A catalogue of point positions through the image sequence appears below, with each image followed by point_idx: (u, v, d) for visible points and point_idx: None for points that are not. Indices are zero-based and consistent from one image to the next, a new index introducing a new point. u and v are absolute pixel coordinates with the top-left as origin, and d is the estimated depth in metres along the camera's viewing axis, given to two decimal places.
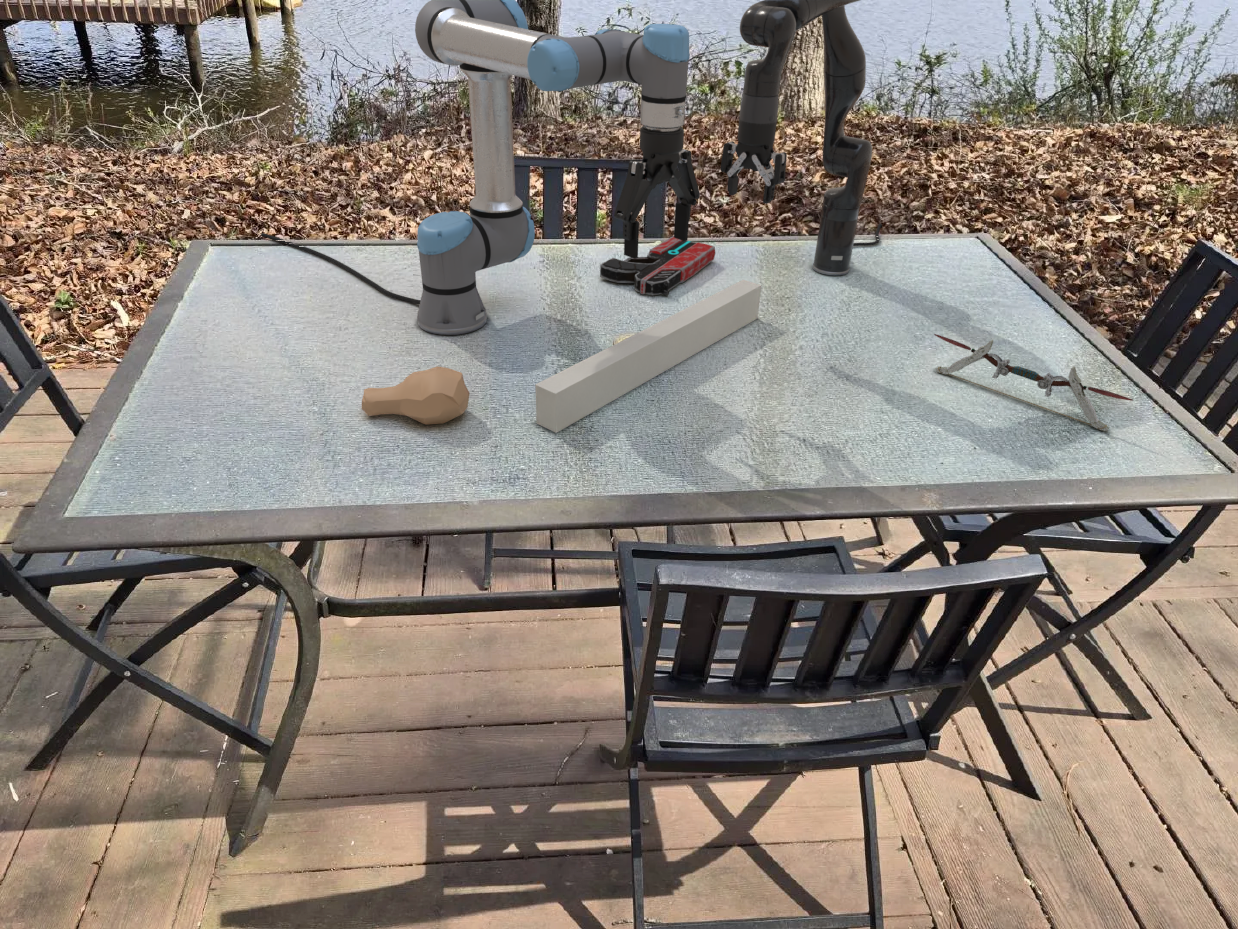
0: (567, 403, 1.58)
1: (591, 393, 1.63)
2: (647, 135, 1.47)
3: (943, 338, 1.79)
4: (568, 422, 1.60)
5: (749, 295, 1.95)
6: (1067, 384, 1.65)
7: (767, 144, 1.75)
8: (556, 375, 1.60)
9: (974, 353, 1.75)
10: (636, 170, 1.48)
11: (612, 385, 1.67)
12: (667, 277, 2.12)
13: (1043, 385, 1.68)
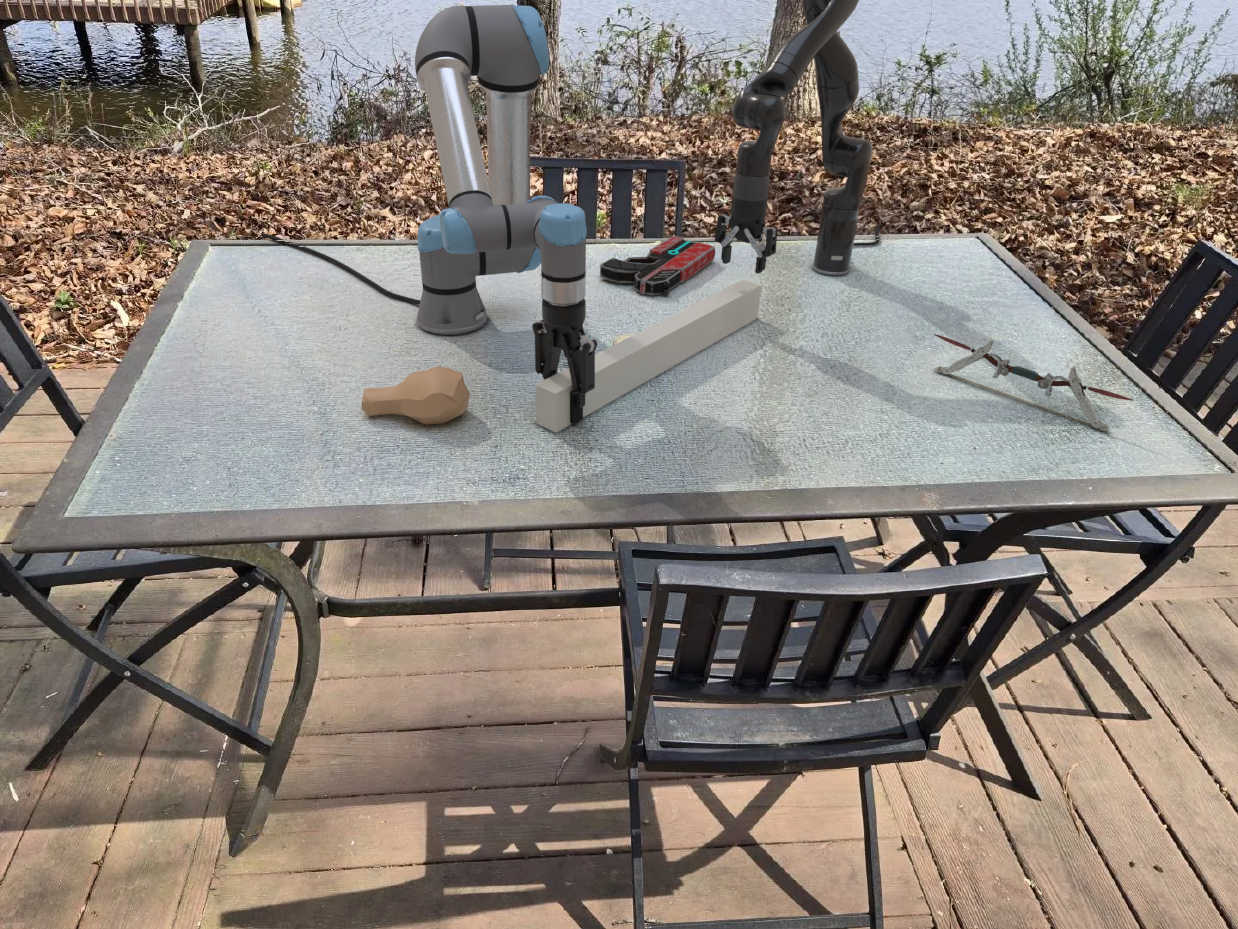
0: (567, 403, 1.58)
1: (591, 393, 1.63)
2: (580, 309, 1.49)
3: (943, 338, 1.79)
4: (568, 422, 1.60)
5: (749, 295, 1.95)
6: (1067, 384, 1.65)
7: (759, 219, 1.84)
8: (556, 375, 1.60)
9: (974, 353, 1.75)
10: (594, 348, 1.51)
11: (612, 385, 1.67)
12: (667, 277, 2.12)
13: (1043, 385, 1.68)
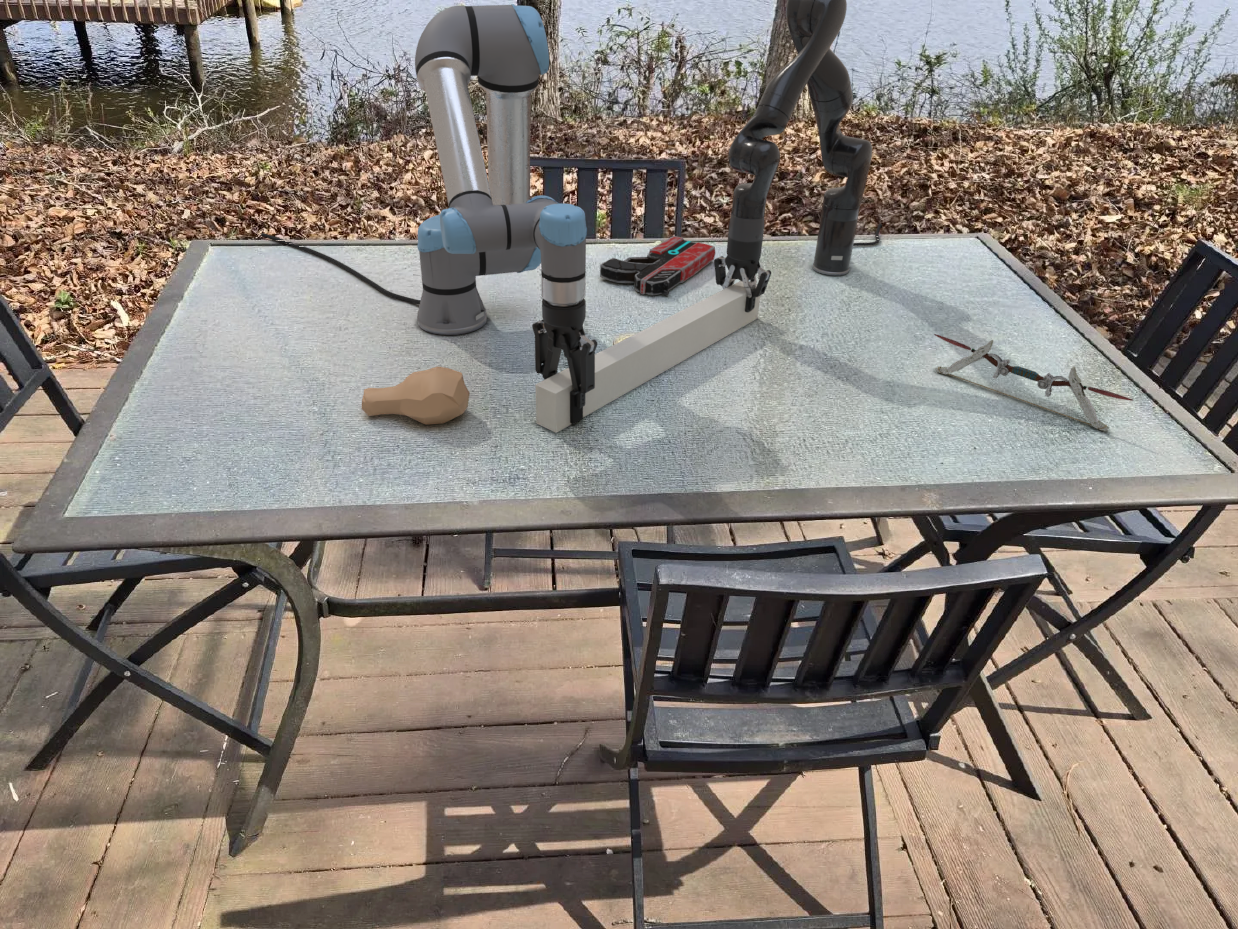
0: (567, 403, 1.58)
1: (591, 393, 1.63)
2: (580, 309, 1.49)
3: (943, 338, 1.79)
4: (568, 422, 1.60)
5: None
6: (1067, 384, 1.65)
7: (754, 259, 1.89)
8: (556, 375, 1.60)
9: (974, 353, 1.75)
10: (594, 348, 1.51)
11: (612, 385, 1.67)
12: (667, 277, 2.12)
13: (1043, 385, 1.68)
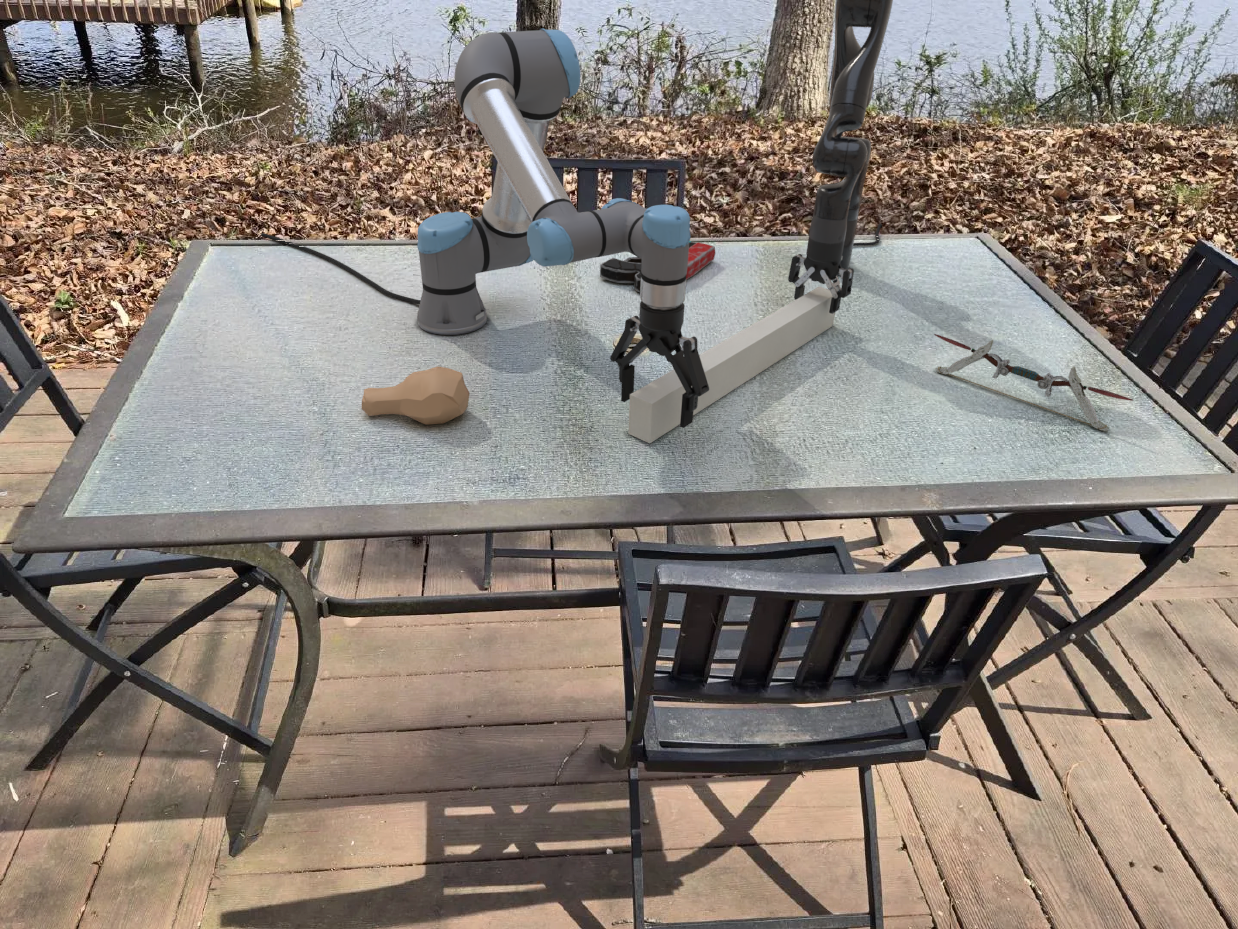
0: (661, 413, 1.56)
1: None
2: (680, 312, 1.45)
3: (943, 338, 1.79)
4: (661, 432, 1.58)
5: (827, 303, 1.93)
6: (1067, 384, 1.65)
7: (835, 261, 1.86)
8: (649, 385, 1.57)
9: (974, 353, 1.75)
10: (695, 345, 1.47)
11: None
12: None
13: (1043, 385, 1.68)
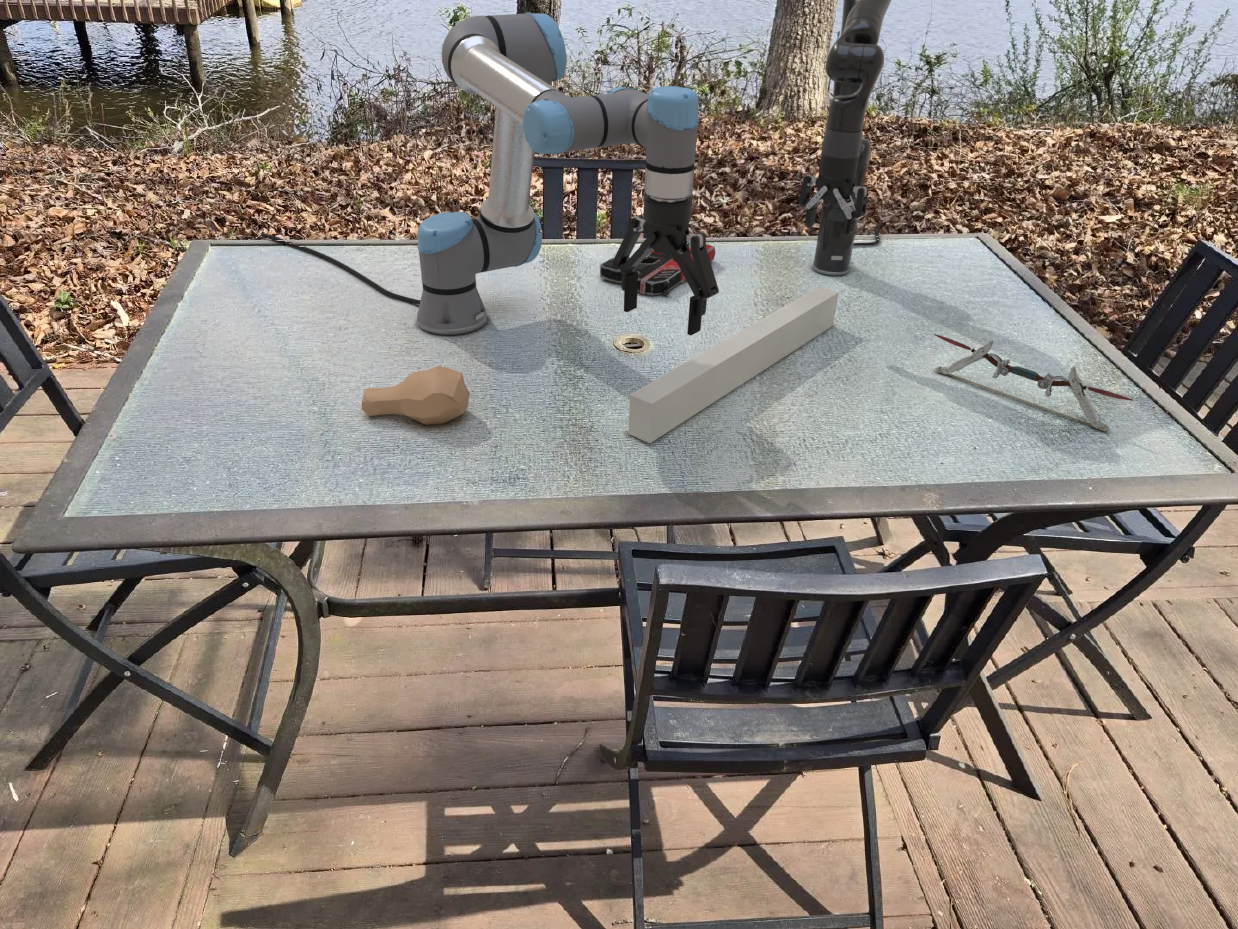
0: (661, 413, 1.56)
1: (683, 403, 1.60)
2: (688, 206, 1.35)
3: (943, 338, 1.79)
4: (661, 432, 1.58)
5: (827, 303, 1.93)
6: (1067, 384, 1.65)
7: (849, 178, 1.76)
8: (649, 385, 1.57)
9: (974, 353, 1.75)
10: (704, 242, 1.37)
11: (702, 394, 1.65)
12: (667, 277, 2.12)
13: (1043, 385, 1.68)
